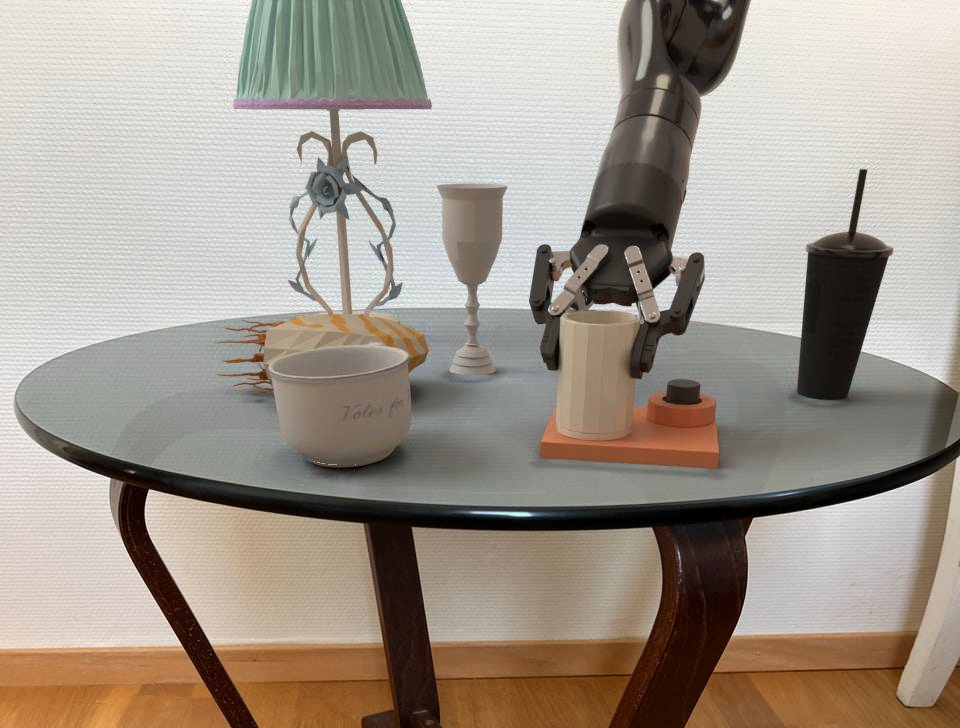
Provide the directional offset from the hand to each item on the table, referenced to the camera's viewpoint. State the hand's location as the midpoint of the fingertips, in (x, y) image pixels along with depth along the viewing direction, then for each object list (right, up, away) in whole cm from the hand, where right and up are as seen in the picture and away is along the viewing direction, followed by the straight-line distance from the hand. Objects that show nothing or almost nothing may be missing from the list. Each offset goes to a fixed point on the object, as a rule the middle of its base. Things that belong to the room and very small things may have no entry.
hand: (592, 368), depth 74 cm
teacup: (-19, -6, +3) cm, 20 cm away
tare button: (+8, -1, +6) cm, 11 cm away
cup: (0, -4, +4) cm, 6 cm away
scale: (+4, -4, +6) cm, 8 cm away
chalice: (-10, +8, +28) cm, 30 cm away
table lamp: (-25, +16, +42) cm, 51 cm away
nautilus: (-25, +3, +19) cm, 32 cm away
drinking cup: (+25, +3, +19) cm, 32 cm away
